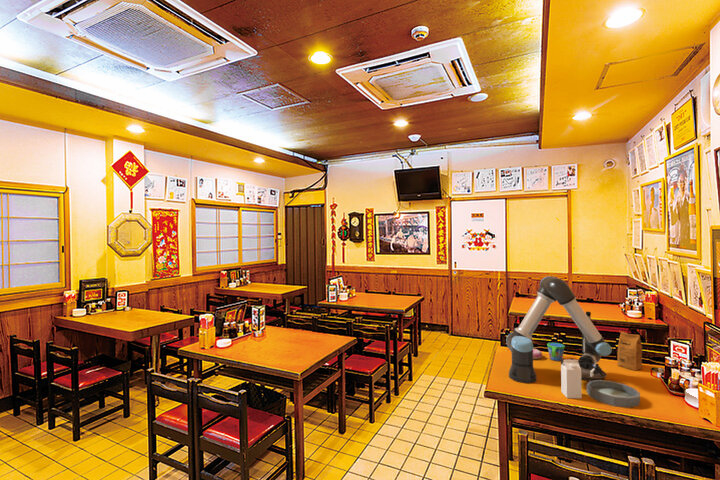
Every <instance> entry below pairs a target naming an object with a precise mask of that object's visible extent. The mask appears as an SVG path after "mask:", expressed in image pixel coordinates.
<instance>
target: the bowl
mask: <svg viewBox="0 0 720 480" xmlns="http://www.w3.org/2000/svg"><path fill="white" fill-rule="evenodd" d="M587 382H588V383H586V393H587V395H588V396H589V397H590V398H591V399H593V400H595V401H597V402H599V403H601V404H605V405H609V406H613V407H619V408H634V407H639V405H640V403H641V393H640V392H639V391H638V390H637V389H636V388H634V387H632V386H630V385H627V384H625V383H620V382H616V381H613V380H604V379H602V380H594V381H587Z"/></svg>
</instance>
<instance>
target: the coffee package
mask: <svg viewBox="0 0 720 480" xmlns="http://www.w3.org/2000/svg"><path fill="white" fill-rule="evenodd" d="M618 339H619V340H618V344H617V357H616V358H617V366H618V367H621V368H624V369H627V370H631V371H638V370H640V369H642V368H643V362H642V361H643V360H642V358H643V344H642V340H641V334H632V333H627V332H626V331H625V332H624V331H620V335H619V338H618Z"/></svg>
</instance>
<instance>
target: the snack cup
mask: <svg viewBox="0 0 720 480" xmlns="http://www.w3.org/2000/svg"><path fill="white" fill-rule="evenodd" d="M565 347H566V346H565V345H564V344H562V343H559V342H548V343H547V350H548V355H549V358H550V360H551V361H552V360H553V361H557V362H561V361H562V360H564V359H563V358H564V351H565V349H566V348H565Z"/></svg>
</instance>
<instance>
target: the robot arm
mask: <svg viewBox="0 0 720 480" xmlns="http://www.w3.org/2000/svg"><path fill="white" fill-rule="evenodd" d="M536 294H537V296H536V298H535V299H534V301H533V302H532V305H531V306H530V308H529V310H528V311H527V313H526V314H525V316H524V318H523V319H522V321H521V323H520V324H519V325H518V327H515V328H514V329H513V330H512V332H510V333H508V335H507V336H506V340H505V341H506V342H505V343H506V346H507V348H508V349H509V352H510V353H511V365H510V368H509V371H508V378H509V379H510V380H513V381H515V382H519V383H525V384H529V383H531V384H532V383H535V382H537V377H538V376H537V374H536V371H535V368H534V359H533V349H534V344H533V337H532V336H533V334H534V331H536V329H537V327H538V326H539V324H540V322H541V321H542V319H543V317H544V315H545V314H546V312H547V311H548V309H549V308H550V307H551V304H552V303H555V302H556V301H557V303H558V304H559V305H560V306H561V307H563V308H564V309H565V311H566V312H567V313H568V315H569V316H570V318H571V319H572V321H573V322H574V324H575V325H576V326H577V328H578V329H579V330H580V332H581V333H582V334H583V335H584V353H583V354H582V355H581V356H580V357H579V358H578V359H577V360H578V363H579V366H580V367H582V368H584V369H589V370H591V371H590V377H592V376H593V375H594V374H598V373H599V374H602V370H603V369H602V368H601V366H600V365H599V362H600V360H601V357H607V356H609V355H610V354H611V353H612V351H613V350H612V346H611V345H610V344H609V343H608V342H606V340H605V339H604V337H603V336H602V334H600V332H599V330H598V328H596V326H595V325H594V323H593V322H592V320H591V321H590V319H589V318H588V316H587V315H586V311H584V309H583V308H582V306H581V305H580V304H579V303H578V301H577V300H576V299H577V297H576V295H575V294H574V292H573V291H572V289H571V287H570V286H569V285H568V283H567V282H566V281H565V280H563V279H562V278H558V277H556V276H553V275H551V276H549V275H548V276H545V277H543V278H542V279H541V280H540V282H539V288H538V289H537V291H536ZM564 360H565V359H562V360H561V361H560V365H561V364H562V363H563V362H564ZM568 360H575V359H574V358H570V359H569V358H568Z"/></svg>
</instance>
